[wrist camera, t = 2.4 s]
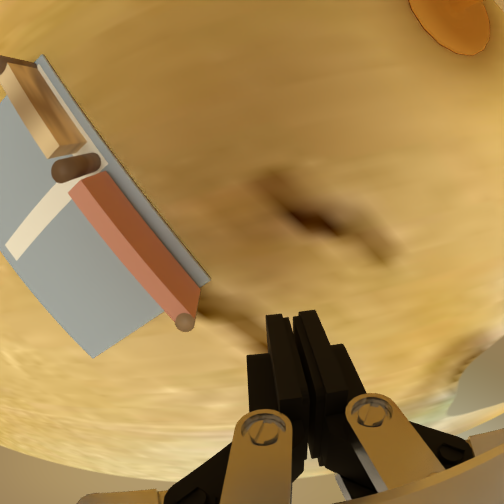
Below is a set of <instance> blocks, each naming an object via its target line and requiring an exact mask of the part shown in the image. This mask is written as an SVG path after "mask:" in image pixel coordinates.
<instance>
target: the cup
mask: <svg viewBox="0 0 504 504" xmlns="http://www.w3.org/2000/svg"><path fill="white" fill-rule="evenodd" d="M482 1H484V0H409V3H410V6H411V9H412V11H413V12H414V14H415V15H416V17H417V18H418V20H419V22H420V23H421V25H422V26H423V28H424V29H425V30H426V31H427V32H428V33H429V34H430V35H431V36H432V37H433V38H434V39H435V40H436V41H437V42H438V43H439V44H440V45H442V46H444V47H446V48H448V49H449V50H451V51H453V52H455V53H456V54H464V55H471V56H472V55H474V54H476V53H478V52H480V51H483V50H484V48H485V46H486V44H487V42H488V41H489V36H490V22H489V19H488V16H487V12H486V9H485V6H484V5H483V3H482ZM494 1H495V3H496V4H497V5H498V6H499V7H500V9H501V10H502V11H503V12H504V0H494Z"/></svg>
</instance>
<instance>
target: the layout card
mask: <svg viewBox="0 0 504 504" xmlns="http://www.w3.org/2000/svg"><path fill="white" fill-rule="evenodd" d="M34 63H35V64H36V65H37V68H38V70H39V72H40V73H41V75H42V76H43V78H44V79H45V81H46V83H47V84H48V86H49V87H50V89H51V90H52V92H53V93H54V95H55V96H56V98H57V99H58V101H59V102H60V104H61V105H62V106H63V108H64V109H65V111H66V112H67V114H68V115H69V117H70V118H71V120H72V121H73V122H74V124H75V125H76V127H77V128H78V130H79V131H80V132H81V134H82V135H83V137H84V138H85V139H86V141H87V143H86V144H85V145H84V146H83V147H82V148H81V149H80V150H79V151H78V152H77V153H74V154H69V155H64V156H60V157H55V158H51V159H47V158H46V156H45V155H44V153H43V152H42V150H41V149H40V147H39V146H38V144H37V143H36V141H35V140H34V138H33V137H32V135H31V134H30V132H29V130H28V129H27V127H26V126H25V124H24V123H23V121H22V119H21V118H20V116H19V114H18V113H17V111H16V109H15V108H14V106H13V104H12V103H11V101H10V99H9V98H8V96H7V95H6V96H5V98H4V99H3V100H2V102H1V103H0V251H1V253H2V254H3V255H4V257H5V258H6V259H7V261H8V262H9V264H10V265H11V266H12V268H13V269H14V270H15V272H16V273H17V274H18V275H19V277H20V278H21V279H22V281H23V282H24V283H25V284H26V286H27V287H28V288H29V289H30V291H31V292H32V293H33V294H34V296H35V297H36V298H37V299H38V300H39V302H40V303H41V304H42V305H43V306H44V307H45V309H46V310H47V311H48V312H49V313H50V314H51V315H52V317H53V318H54V319H55V320H56V321H57V322H58V323H59V324H60V325H61V326H62V328H63V329H64V330H65V331H66V332H67V333H68V334H69V335H70V336H71V337H72V338H73V339H74V340H75V341H76V342H77V343H78V344H79V345H80V346H81V347H82V348H83V349H84V350H85V351H86V352H87V353H88V354H89V355H90V356H91V357H92V358H95V357H96V356H98V355H99V354H101V353H102V352H104V351H105V350H107V349H108V348H110V347H111V346H113V345H114V344H116V343H117V342H119V341H120V340H122V339H123V338H125V337H126V336H128V335H129V334H131V333H132V332H134V331H135V330H137V329H138V328H140V327H141V326H143V325H144V324H146V323H147V322H149V321H150V320H152V319H153V318H155V317H156V316H158V315H159V314H161V313H162V312H164V310H163V309H162V308H161V307H160V306H159V304H158V303H157V302H156V301H155V300H154V299H153V298H152V297H151V296H150V294H149V293H148V292H147V291H146V290H145V289H144V288H143V287H142V285H141V284H140V283H139V282H138V281H137V280H136V278H135V277H134V276H133V275H132V274H131V273H130V271H129V270H128V269H127V268H126V267H125V266H124V264H123V263H122V262H121V261H120V260H119V258H118V257H117V256H116V255H115V254H114V252H113V251H112V250H111V249H110V247H109V246H108V245H107V244H106V242H105V241H104V240H103V239H102V237H101V236H100V235H99V234H98V232H97V231H96V230H95V229H94V227H93V226H92V225H91V223H90V222H89V221H88V220H87V218H86V217H85V216H84V214H83V213H82V212H81V210H80V209H79V208H78V206H77V205H76V204H75V202H74V201H73V200H72V198H71V197H70V196H69V194H68V192H69V191H70V190H71V189H72V188H73V187H74V186H75V185H76V184H77V183H78V182H79V181H80V180H81V179H84V178H87V177H89V176H92V175H95V174H97V173H100V172H103V171H107V173H108V174H109V175H110V177H111V178H112V179H113V181H114V182H115V183H116V185H117V186H118V187H119V189H120V190H121V191H122V193H123V194H124V195H125V197H126V198H127V199H128V201H129V202H130V203H131V204H132V206H133V207H134V208H135V210H136V211H137V212H138V213H139V215H140V216H141V217H142V218H143V220H144V221H145V222H146V224H147V225H148V226H149V227H150V229H151V230H152V231H153V232H154V234H155V235H156V236H157V237H158V239H159V240H160V241H161V242H162V244H163V245H164V246H165V247H166V248H167V250H168V251H169V252H170V253H171V255H172V256H173V257H174V258H175V259H176V261H177V262H178V263H179V264H180V265H181V267H182V268H183V269H184V270H185V271H186V273H187V274H188V275H189V276H190V277H191V279H192V280H193V281H194V282H195V283H196V284H197V286H198V287H199V288H200V287H202V286H203V285H205V284H206V283H208V282H209V281H211V278H210V277H209V276H208V274H207V273H206V272H205V271H204V269H203V268H202V267H201V266H200V265H199V263H198V262H197V261H196V260H195V258H194V257H193V256H192V255H191V254H190V252H189V251H188V250H187V249H186V247H185V246H184V245H183V244H182V242H181V241H180V240H179V239H178V237H177V236H176V235H175V234H174V232H173V231H172V230H171V229H170V227H169V226H168V225H167V224H166V222H165V221H164V220H163V218H162V217H161V216H160V215H159V213H158V212H157V211H156V210H155V208H154V207H153V206H152V204H151V203H150V202H149V201H148V199H147V198H146V197H145V195H144V194H143V193H142V191H141V190H140V189H139V188H138V186H137V185H136V184H135V182H134V181H133V180H132V178H131V177H130V176H129V174H128V173H127V172H126V170H125V169H124V168H123V166H122V165H121V164H120V162H119V161H118V160H117V158H116V157H115V156H114V154H113V153H112V152H111V150H110V149H109V148H108V146H107V145H106V143H105V142H104V141H103V139H102V138H101V137H100V135H99V134H98V132H97V131H96V130H95V128H94V127H93V125H92V124H91V123H90V121H89V120H88V118H87V117H86V116H85V114H84V113H83V111H82V110H81V109H80V107H79V106H78V104H77V103H76V101H75V100H74V99H73V97H72V96H71V94H70V93H69V91H68V90H67V88H66V87H65V86H64V84H63V83H62V81H61V80H60V78H59V77H58V75H57V74H56V72H55V71H54V69H53V68H52V66H51V65H50V63H49V62H48V60H47V59H46V57H45V56H44V55H43V54H42V55H41V56H40V57H39V58H38V59H37V60H36V61H35V62H34ZM92 152H93V153H96V154H98V155H99V157H100V159H101V165H100V168H99V169H98V170H97V171H95V172H93V173H90V174H87V175H84V176H81V177H78V178H76V179H73V180H70V181H67V182H65V183H57V182H56V181H54V179H53V178H52V175H51V168H52V165H53V164H54V162H55V161H57V160H59V159H64V158H68V157H73V156H77V155H82V154H87V153H92Z"/></svg>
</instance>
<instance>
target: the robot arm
mask: <svg viewBox="0 0 504 504" xmlns="http://www.w3.org/2000/svg"><path fill="white" fill-rule="evenodd" d="M266 330H267V343H268V353H265V354H255V355H247V375H248V394H249V413H247V414H246V415H244V416H243V417H242V418H241V419H240V420H239V421H238V422H237V424H236V427H235V430H234V435H233V440H232V442H231V443H230V444H229V445H227V446H226V447H225V448H223V449H222V450H221V451H220V452H218V453H217V454H216V455H214V456H213V457H212V458H210V459H209V460H208V461H206V462H205V463H204V464H202V465H201V466H200V467H198V468H197V469H195V470H194V471H193V472H191V473H190V474H188V475H187V476H186V477H184V478H183V479H181V480H180V481H178V482H177V483H176V484H174V485H173V486H172V487H171V488H170V489H169V490H166V491H157V489H150V490H139V491H128V492H111V493H93V494H88V495H86V496H84V497H82V498H81V499H80V500H79V501H78V503H77V504H291V502H292V483H293V482H294V480H296V479H297V477H298V476H299V475H300V474H301V473H302V472H303V471H304V460H306V459H307V447H308V446H309V450H310V455H311V458H312V459H313V458H318V462H319V466H325V468H327V469H329V470H331V471H333V472H335V473H334V475H335V478H336V481H337V483H338V485H339V487H340V489H341V491H342V493H343V496H344V498H345V499H346V501H344V502H339V503H334V504H504V428H503V429H499V430H495V431H491V432H487V433H483V434H478V435H473V436H469V437H468V439H467V440H464V439H462V438H460V437H457V436H454V435H451V434H448V433H444V432H441V431H438V430H435V429H432V428H428V427H425V426H422V425H419V424H416V423H413V422H410V421H408V419H407V418H406V417H405V415H404V414H403V413H402V412H401V410H400V409H399V408H398V406H397V405H396V404H395V403H394V402H393V401H392V400H391V399H390V398H388V397H386V396H384V395H381V394H377V393H366V391H365V389H364V387H363V384H362V382H361V380H360V378H359V376H358V374H357V372H356V369H355V367H354V365H353V363H352V361H351V359H350V357H349V355H348V353H347V350H346V348H345V346H344V345H343V344H336V345H330V343H329V341H328V338H327V336H326V333H325V331H324V329H323V326H322V324H321V322H320V319H319V317H318V315H317V313H316V311H315V310H309V311H301V312H299V314H298V316H294V317H293V331H292V328H291V324H290V321H289V317H285V318H283V316H282V314H274V315H266Z"/></svg>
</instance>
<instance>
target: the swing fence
mask: <svg viewBox="0 0 504 504" xmlns="http://www.w3.org/2000/svg"><path fill="white" fill-rule="evenodd" d="M68 194H69V196H70V197H71V198H72V200H73V201H74V202H75V204H76V205H77V206H78V208H79V209H80V210H81V212H82V213H83V214H84V216H85V217H86V218H87V220H88V221H89V222H90V223H91V225H92V226H93V227H94V229H95V230H96V231H97V232H98V234H99V235H100V236H101V237H102V239H103V240H104V241H105V242H106V244H107V245H108V246H109V247H110V249H111V250H112V251H113V252H114V254H115V255H116V256H117V257H118V258H119V260H120V261H121V262H122V263H123V264H124V266H125V267H126V268H127V269H128V270H129V271H130V273H131V274H132V275H133V276H134V277H135V278H136V280H137V281H138V282H139V283H140V284H141V285H142V287H143V288H144V289H145V290H146V291H147V292H148V293H149V294H150V296H151V297H152V298H153V299H154V300H155V301H156V302H157V303H158V304H159V306H160V307H161V308H162V309H163V310H164V311H165V312H166V313H167V314H168V315H169V316H170V318H171V319H172V320H173V321H174V322H175V325H176V327H177V328H178V329H179V330H180V331H183V332H189V331H191V330H192V329H193V328H194V324H195V319H196V314H197V309H198V304H199V299H200V294H201V289H200V288H199V287H198V286H197V284H196V283H195V282H194V281H193V280H192V279H191V277H190V276H189V275H188V274H187V273H186V271H185V270H184V269H183V268H182V267H181V265H180V264H179V263H178V262H177V261H176V259H175V258H174V257H173V256H172V255H171V253H170V252H169V251H168V250H167V248H166V247H165V246H164V245H163V244H162V242H161V241H160V240H159V239H158V237H157V236H156V235H155V234H154V232H153V231H152V230H151V229H150V227H149V226H148V225H147V224H146V222H145V221H144V220H143V218H142V217H141V216H140V215H139V213H138V212H137V211H136V210H135V208H134V207H133V206H132V204H131V203H130V202H129V201H128V199H127V198H126V197H125V195H124V194H123V193H122V191H121V190H120V189H119V187H118V186H117V185H116V183H115V182H114V181H113V179H112V178H111V177H110V175H109V174H108V173H107V171H103V172H100V173H97V174H95V175H92V176H89V177H87V178H84V179H81V180H80V181H79V182H78V183H77V184H76V185H75V186H74V187H73V188H72V189H71V190H70V191H69V192H68Z"/></svg>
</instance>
